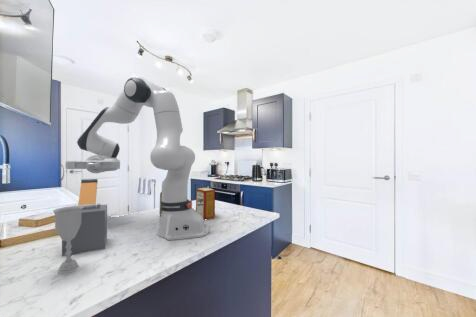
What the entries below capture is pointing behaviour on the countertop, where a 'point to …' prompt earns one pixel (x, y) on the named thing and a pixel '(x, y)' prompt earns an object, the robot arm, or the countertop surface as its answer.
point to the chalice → (68, 233)
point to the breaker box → (90, 231)
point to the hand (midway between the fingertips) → (92, 165)
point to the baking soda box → (205, 202)
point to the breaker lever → (88, 193)
